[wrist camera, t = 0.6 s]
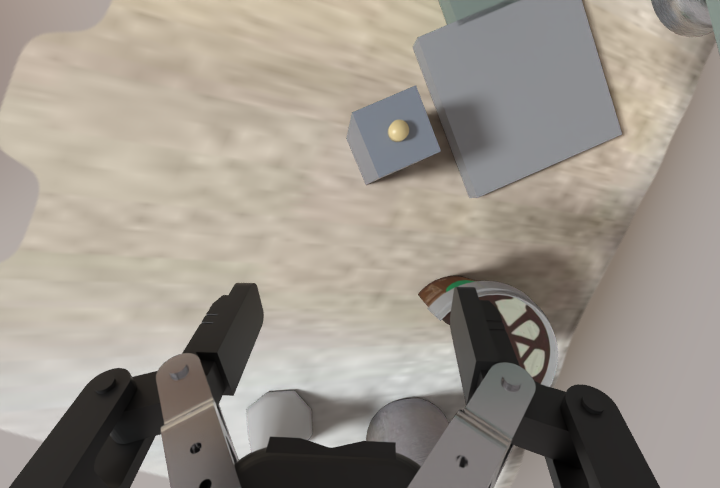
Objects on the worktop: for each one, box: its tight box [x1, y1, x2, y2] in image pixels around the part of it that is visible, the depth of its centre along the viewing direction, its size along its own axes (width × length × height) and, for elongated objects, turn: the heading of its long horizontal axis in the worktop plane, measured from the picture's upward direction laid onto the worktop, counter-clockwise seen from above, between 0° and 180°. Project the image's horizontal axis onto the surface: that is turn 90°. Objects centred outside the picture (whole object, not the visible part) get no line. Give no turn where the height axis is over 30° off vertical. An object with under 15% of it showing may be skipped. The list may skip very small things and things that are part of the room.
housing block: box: [346, 86, 441, 185], centre depth 30 cm, size 5×5×11 cm
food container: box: [418, 276, 558, 387], centre depth 33 cm, size 12×6×10 cm, turn 51°
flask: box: [246, 391, 313, 453], centre depth 33 cm, size 7×7×10 cm
